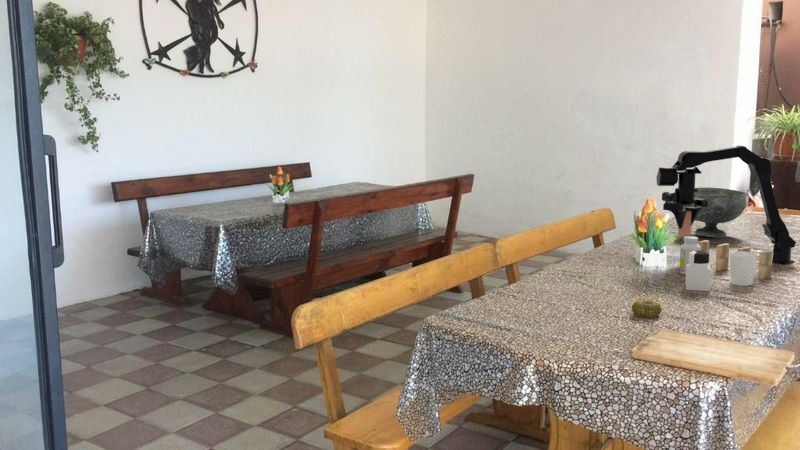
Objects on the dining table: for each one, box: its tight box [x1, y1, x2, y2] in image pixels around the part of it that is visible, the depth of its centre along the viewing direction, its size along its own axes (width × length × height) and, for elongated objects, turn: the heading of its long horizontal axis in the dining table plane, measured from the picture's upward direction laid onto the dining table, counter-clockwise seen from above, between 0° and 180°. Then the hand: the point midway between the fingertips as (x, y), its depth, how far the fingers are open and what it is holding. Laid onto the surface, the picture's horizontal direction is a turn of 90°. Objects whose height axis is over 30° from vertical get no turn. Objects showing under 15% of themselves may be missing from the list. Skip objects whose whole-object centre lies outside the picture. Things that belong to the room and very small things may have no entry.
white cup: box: [729, 251, 758, 287], centre depth 242 cm, size 8×8×10 cm
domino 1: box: [677, 211, 692, 238], centre depth 274 cm, size 5×2×9 cm, turn 122°
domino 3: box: [715, 243, 730, 272], centre depth 262 cm, size 5×2×9 cm, turn 123°
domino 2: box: [697, 239, 710, 254], centre depth 269 cm, size 5×2×9 cm, turn 123°
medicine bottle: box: [685, 251, 712, 292], centre depth 237 cm, size 7×7×12 cm
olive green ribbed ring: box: [631, 299, 662, 319], centre depth 210 cm, size 8×4×8 cm
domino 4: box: [736, 246, 752, 252], centre depth 255 cm, size 5×2×9 cm, turn 123°
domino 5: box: [757, 250, 773, 280], centre depth 249 cm, size 5×2×9 cm, turn 123°
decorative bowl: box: [684, 186, 748, 239], centre depth 323 cm, size 26×26×20 cm
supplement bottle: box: [679, 235, 701, 276], centre depth 257 cm, size 7×7×13 cm
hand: (684, 227), depth 274 cm, fingers closed on domino 1, 5 cm apart
